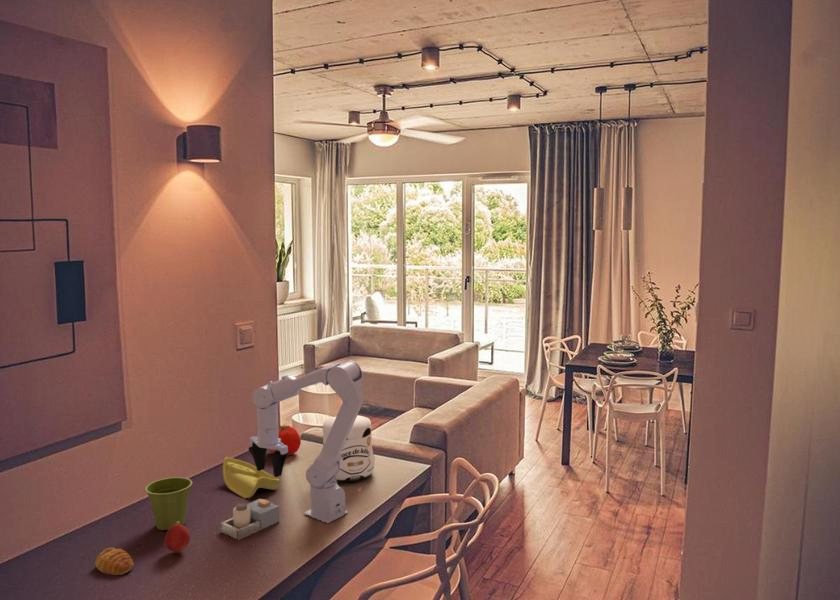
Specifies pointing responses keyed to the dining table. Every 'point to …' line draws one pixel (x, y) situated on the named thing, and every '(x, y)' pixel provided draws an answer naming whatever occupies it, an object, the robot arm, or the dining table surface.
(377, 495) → the dining table surface
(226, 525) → the beige tray
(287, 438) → the tomato
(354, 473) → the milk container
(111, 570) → the pastry
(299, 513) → the dining table surface
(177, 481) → the plant pot
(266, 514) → the block
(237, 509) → the cream capped bottle
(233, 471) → the plastic component
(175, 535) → the onion
